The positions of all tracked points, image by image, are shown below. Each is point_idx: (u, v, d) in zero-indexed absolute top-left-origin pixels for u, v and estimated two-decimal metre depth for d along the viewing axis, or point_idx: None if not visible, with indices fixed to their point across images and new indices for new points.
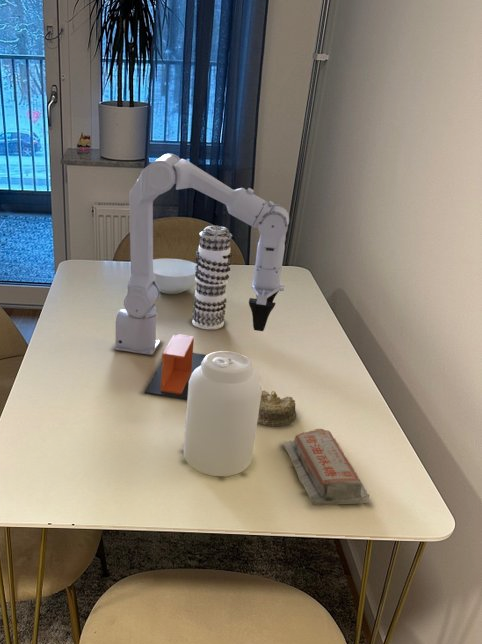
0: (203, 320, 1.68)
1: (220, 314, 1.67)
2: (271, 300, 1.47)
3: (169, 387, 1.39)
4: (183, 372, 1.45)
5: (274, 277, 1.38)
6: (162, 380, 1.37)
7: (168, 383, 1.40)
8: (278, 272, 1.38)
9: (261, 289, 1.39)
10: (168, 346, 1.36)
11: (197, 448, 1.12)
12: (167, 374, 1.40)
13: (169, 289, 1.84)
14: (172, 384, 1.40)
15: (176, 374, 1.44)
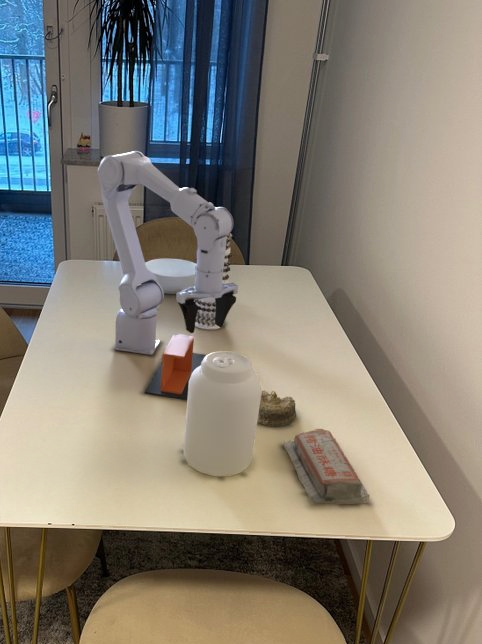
0: (203, 320, 1.68)
1: None
2: (224, 309, 1.41)
3: (169, 387, 1.39)
4: (183, 372, 1.45)
5: (205, 281, 1.34)
6: (162, 380, 1.37)
7: (168, 383, 1.40)
8: (209, 277, 1.34)
9: (194, 290, 1.37)
10: (168, 346, 1.36)
11: (197, 448, 1.12)
12: (167, 374, 1.40)
13: (169, 289, 1.84)
14: (172, 384, 1.40)
15: (176, 374, 1.44)
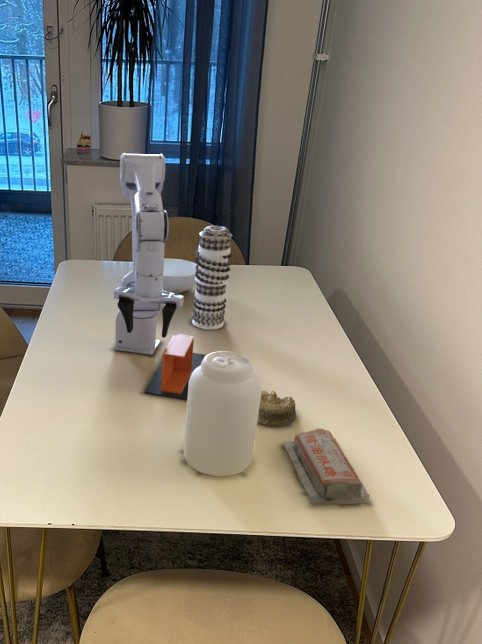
0: (203, 320, 1.68)
1: (220, 314, 1.67)
2: (163, 319, 1.35)
3: (169, 387, 1.39)
4: (183, 372, 1.45)
5: (136, 282, 1.32)
6: (162, 380, 1.37)
7: (168, 383, 1.40)
8: (138, 278, 1.31)
9: None
10: (168, 346, 1.36)
11: (197, 448, 1.12)
12: (167, 374, 1.40)
13: (169, 289, 1.84)
14: (172, 384, 1.40)
15: (176, 374, 1.44)
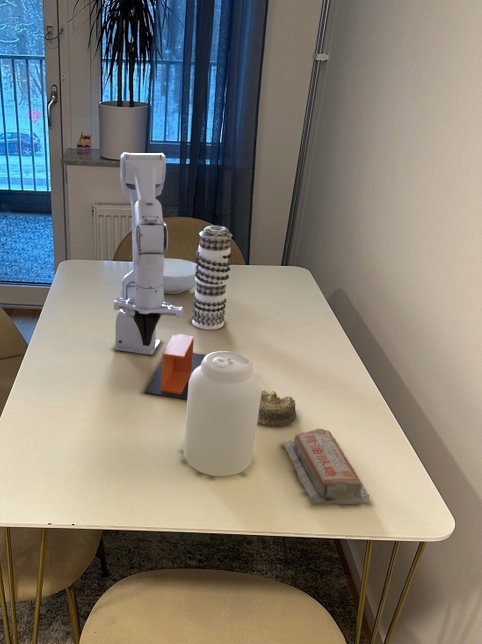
0: (203, 320, 1.68)
1: (220, 314, 1.67)
2: None
3: (169, 387, 1.39)
4: (183, 372, 1.45)
5: (136, 293, 1.33)
6: (162, 380, 1.37)
7: (168, 383, 1.40)
8: (138, 290, 1.32)
9: None
10: (168, 346, 1.36)
11: (197, 448, 1.12)
12: (167, 374, 1.40)
13: (169, 289, 1.84)
14: (172, 384, 1.40)
15: (176, 374, 1.44)
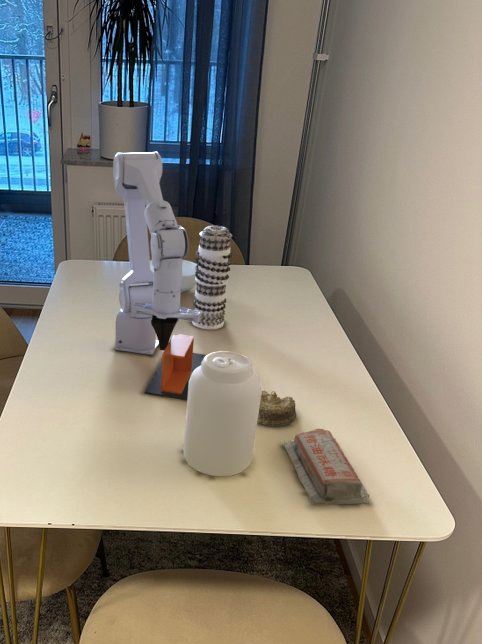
0: (203, 320, 1.68)
1: (220, 314, 1.67)
2: (164, 332, 1.36)
3: (169, 387, 1.39)
4: (183, 372, 1.45)
5: (154, 298, 1.33)
6: (162, 380, 1.37)
7: (168, 383, 1.40)
8: (156, 295, 1.32)
9: None
10: (168, 346, 1.36)
11: (197, 448, 1.12)
12: (167, 374, 1.40)
13: None
14: (172, 384, 1.40)
15: (176, 374, 1.44)
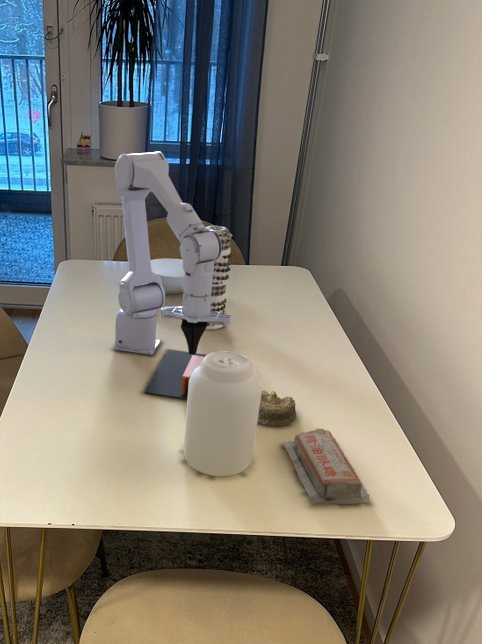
0: None
1: None
2: None
3: (185, 380, 1.37)
4: None
5: (184, 302, 1.31)
6: None
7: None
8: (187, 299, 1.30)
9: None
10: None
11: (197, 448, 1.12)
12: None
13: (169, 289, 1.84)
14: None
15: None
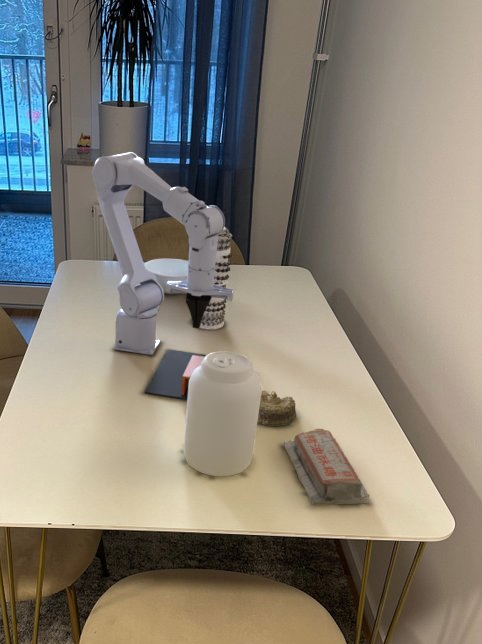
0: (203, 320, 1.68)
1: (220, 314, 1.67)
2: None
3: (185, 380, 1.37)
4: None
5: (188, 276, 1.36)
6: None
7: None
8: (191, 273, 1.35)
9: None
10: None
11: (197, 448, 1.12)
12: None
13: None
14: None
15: None
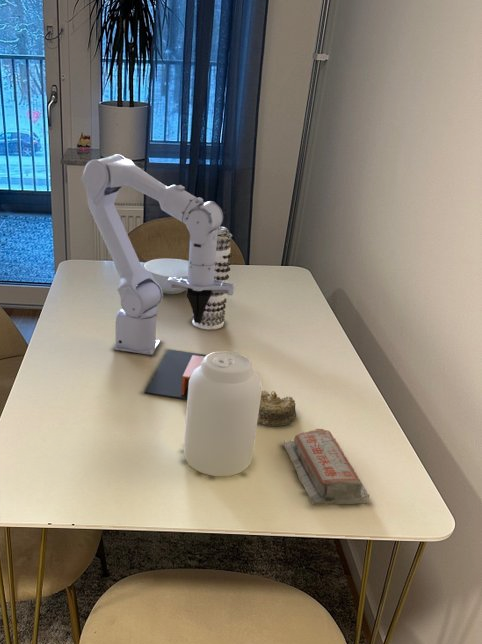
0: (203, 320, 1.68)
1: (220, 314, 1.67)
2: (198, 305, 1.42)
3: (185, 380, 1.37)
4: None
5: (189, 271, 1.39)
6: None
7: None
8: (192, 268, 1.38)
9: None
10: None
11: (197, 448, 1.12)
12: None
13: (169, 289, 1.84)
14: None
15: None
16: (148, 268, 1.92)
